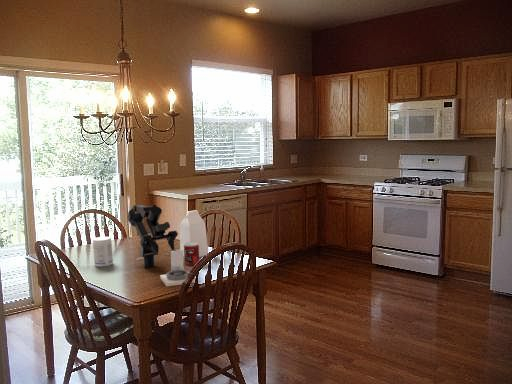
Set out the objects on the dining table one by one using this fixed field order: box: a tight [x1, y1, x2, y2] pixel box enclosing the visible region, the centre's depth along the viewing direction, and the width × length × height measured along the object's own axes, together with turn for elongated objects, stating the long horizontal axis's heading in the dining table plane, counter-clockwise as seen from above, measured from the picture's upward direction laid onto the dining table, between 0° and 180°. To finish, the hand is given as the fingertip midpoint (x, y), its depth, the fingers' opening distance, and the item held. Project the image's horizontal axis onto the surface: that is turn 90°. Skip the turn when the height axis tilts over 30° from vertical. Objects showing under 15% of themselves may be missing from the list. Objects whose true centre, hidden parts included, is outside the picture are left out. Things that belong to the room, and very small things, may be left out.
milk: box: [179, 209, 209, 258], centre depth 270 cm, size 12×12×26 cm
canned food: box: [183, 242, 200, 266], centre depth 254 cm, size 8×8×11 cm
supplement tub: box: [92, 236, 114, 268], centre depth 254 cm, size 10×10×15 cm
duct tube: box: [169, 248, 185, 276], centre depth 225 cm, size 6×6×13 cm
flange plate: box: [159, 269, 195, 287], centre depth 226 cm, size 14×14×4 cm
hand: (165, 251), depth 232 cm, fingers open, 9 cm apart
